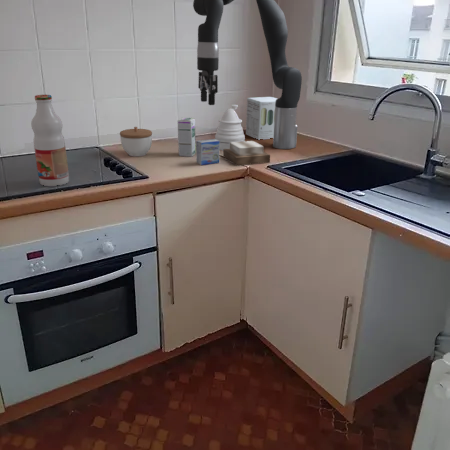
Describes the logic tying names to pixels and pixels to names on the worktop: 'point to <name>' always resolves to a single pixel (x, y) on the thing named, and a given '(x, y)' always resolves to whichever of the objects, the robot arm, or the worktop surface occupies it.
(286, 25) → the robot arm
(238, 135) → the honey pot
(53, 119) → the fruit juice
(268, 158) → the plinth
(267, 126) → the supplement box
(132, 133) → the lidded bowl
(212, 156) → the medicine box
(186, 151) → the syrup box
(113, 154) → the worktop surface
